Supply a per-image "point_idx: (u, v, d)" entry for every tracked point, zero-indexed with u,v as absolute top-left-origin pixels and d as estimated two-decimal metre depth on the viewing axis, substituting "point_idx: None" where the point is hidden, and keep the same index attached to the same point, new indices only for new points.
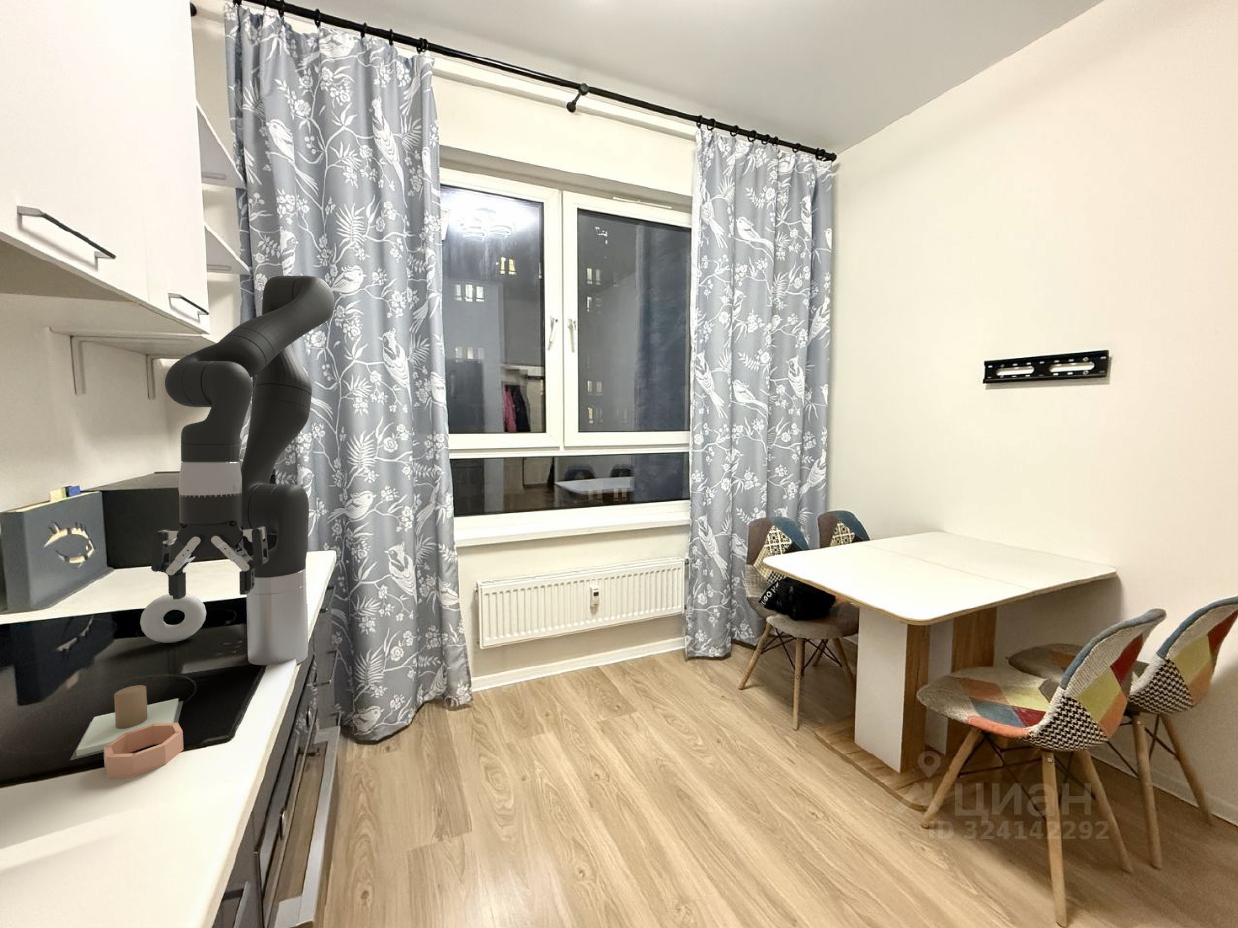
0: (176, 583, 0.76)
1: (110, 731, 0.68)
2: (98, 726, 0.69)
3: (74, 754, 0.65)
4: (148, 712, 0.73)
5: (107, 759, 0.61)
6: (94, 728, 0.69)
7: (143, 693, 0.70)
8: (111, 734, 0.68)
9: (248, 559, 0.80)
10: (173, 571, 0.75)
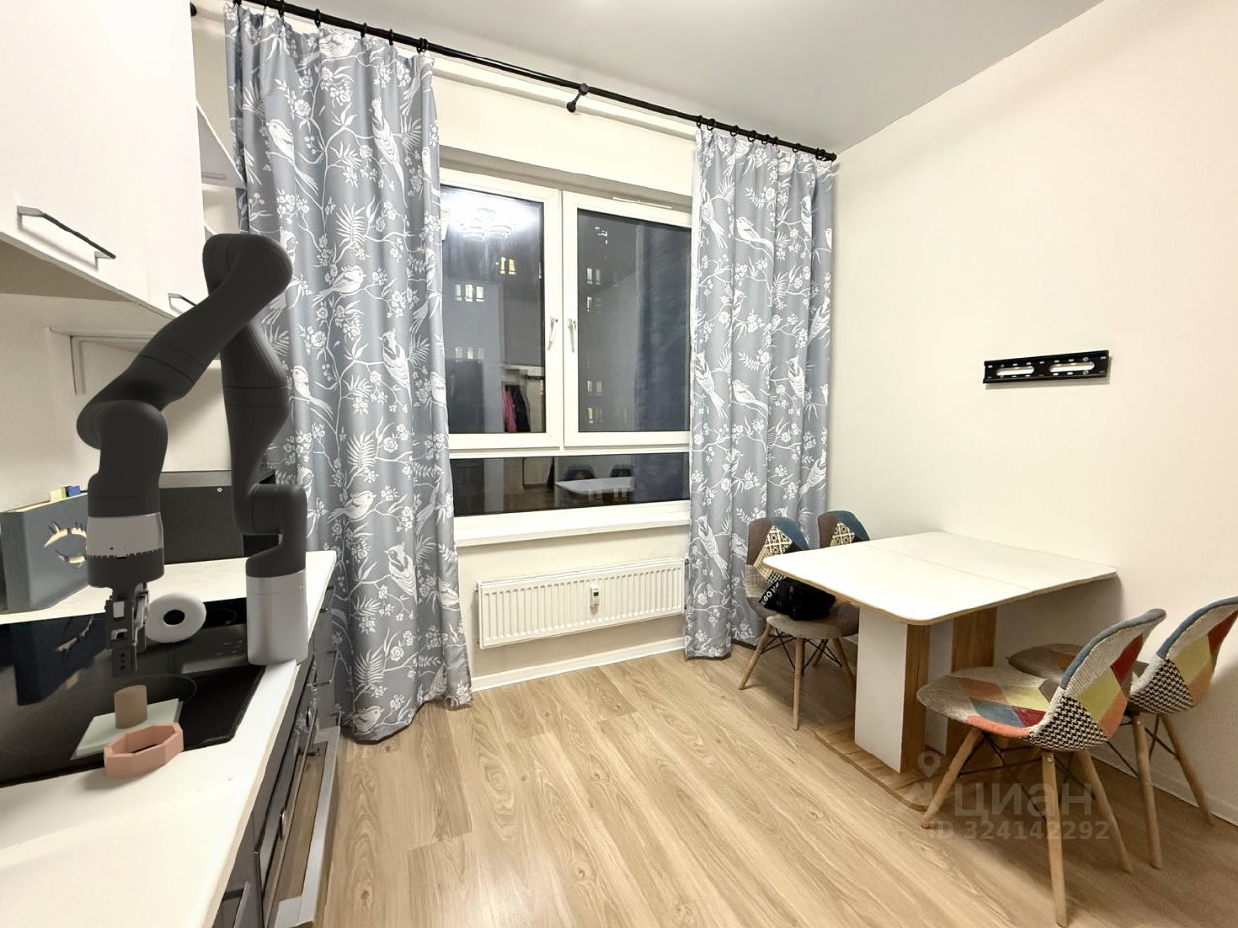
0: None
1: (110, 731, 0.68)
2: (98, 726, 0.69)
3: (74, 754, 0.65)
4: (148, 712, 0.73)
5: (107, 759, 0.61)
6: (94, 728, 0.69)
7: (143, 693, 0.70)
8: (111, 734, 0.68)
9: None
10: None
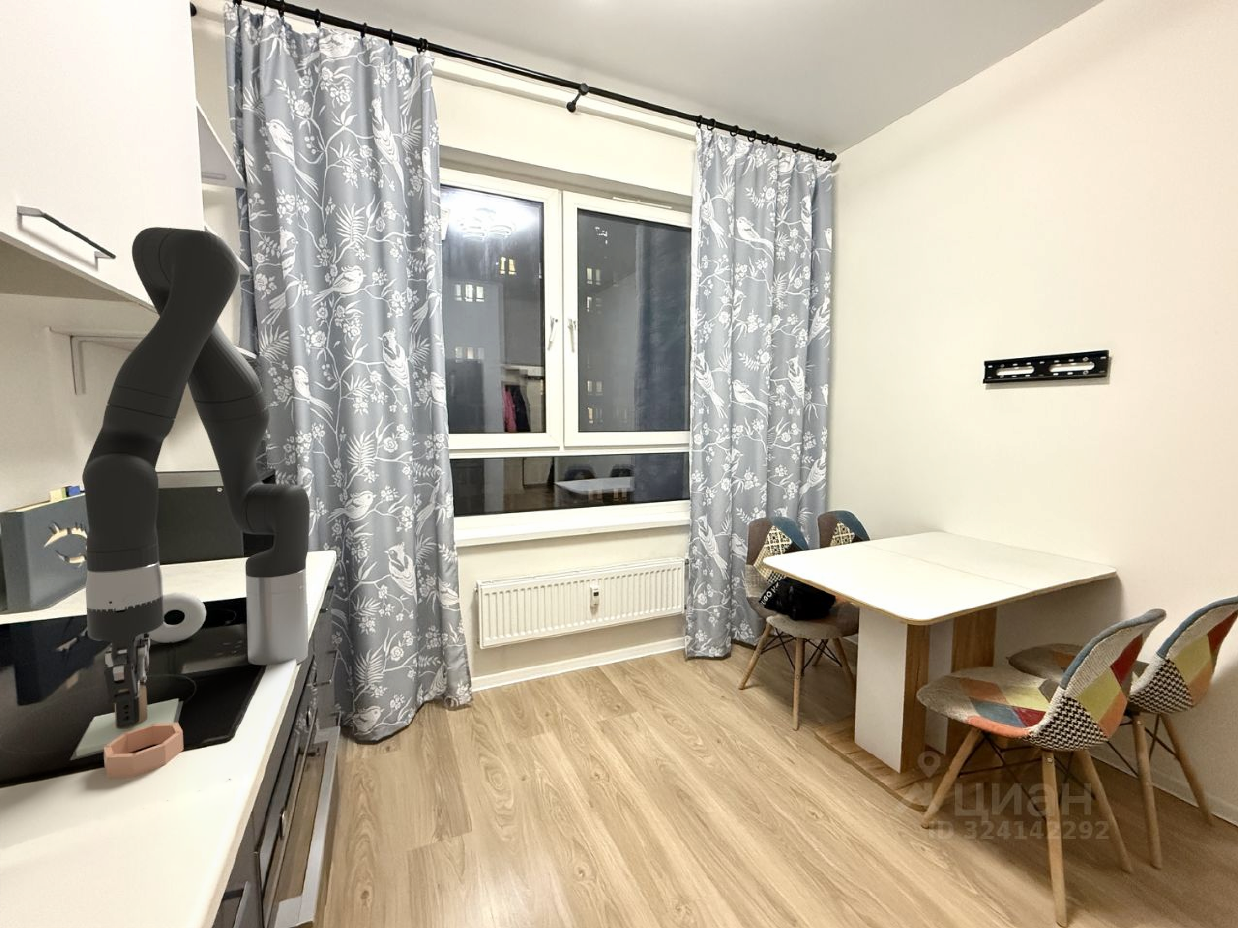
0: None
1: (110, 731, 0.68)
2: (98, 726, 0.69)
3: (74, 754, 0.65)
4: (148, 712, 0.73)
5: (107, 759, 0.61)
6: (94, 728, 0.69)
7: (143, 693, 0.70)
8: (111, 734, 0.68)
9: None
10: None
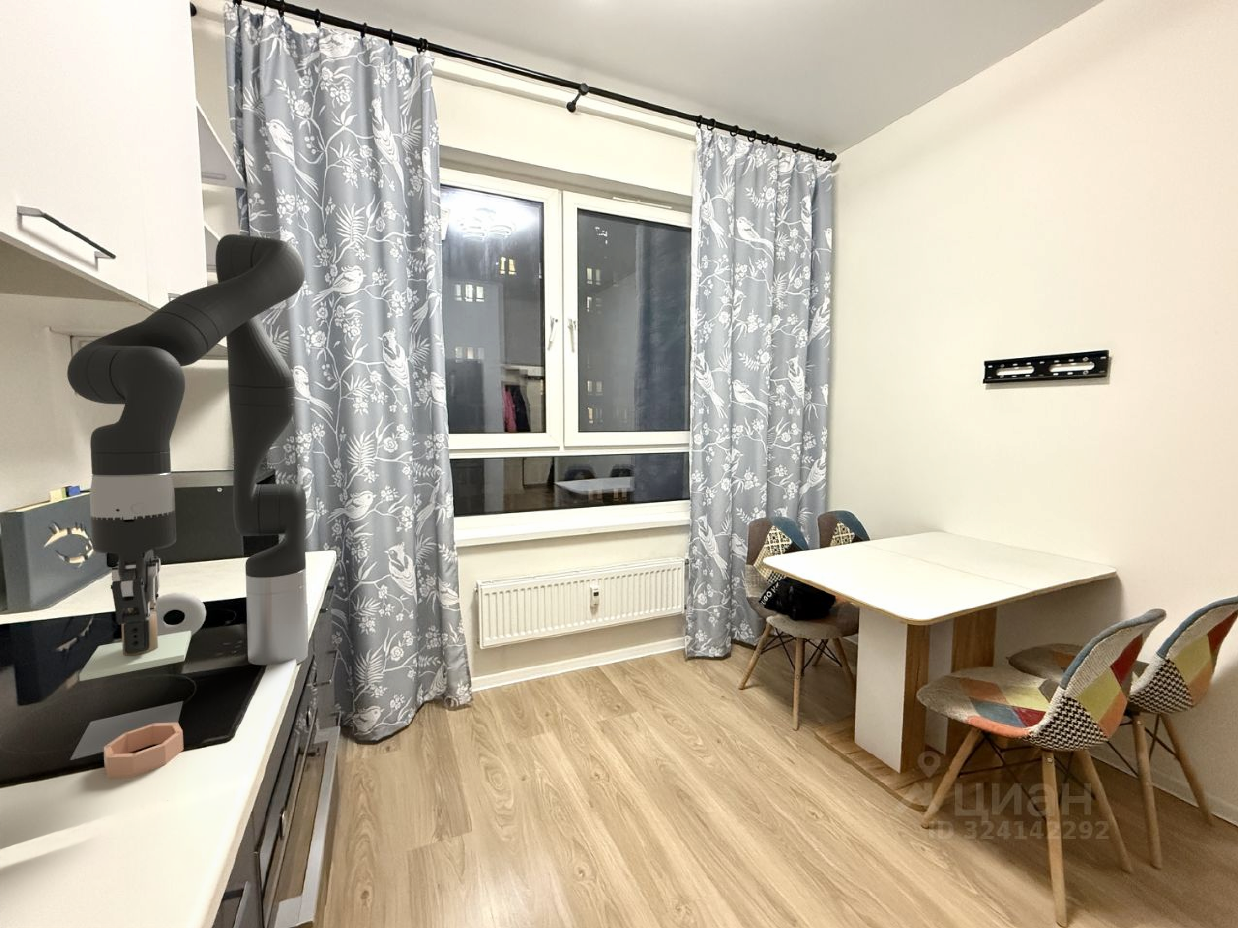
0: None
1: (117, 658, 0.61)
2: (104, 654, 0.62)
3: (74, 754, 0.65)
4: (158, 642, 0.66)
5: (107, 759, 0.61)
6: (99, 655, 0.62)
7: (153, 617, 0.63)
8: (118, 660, 0.60)
9: None
10: None
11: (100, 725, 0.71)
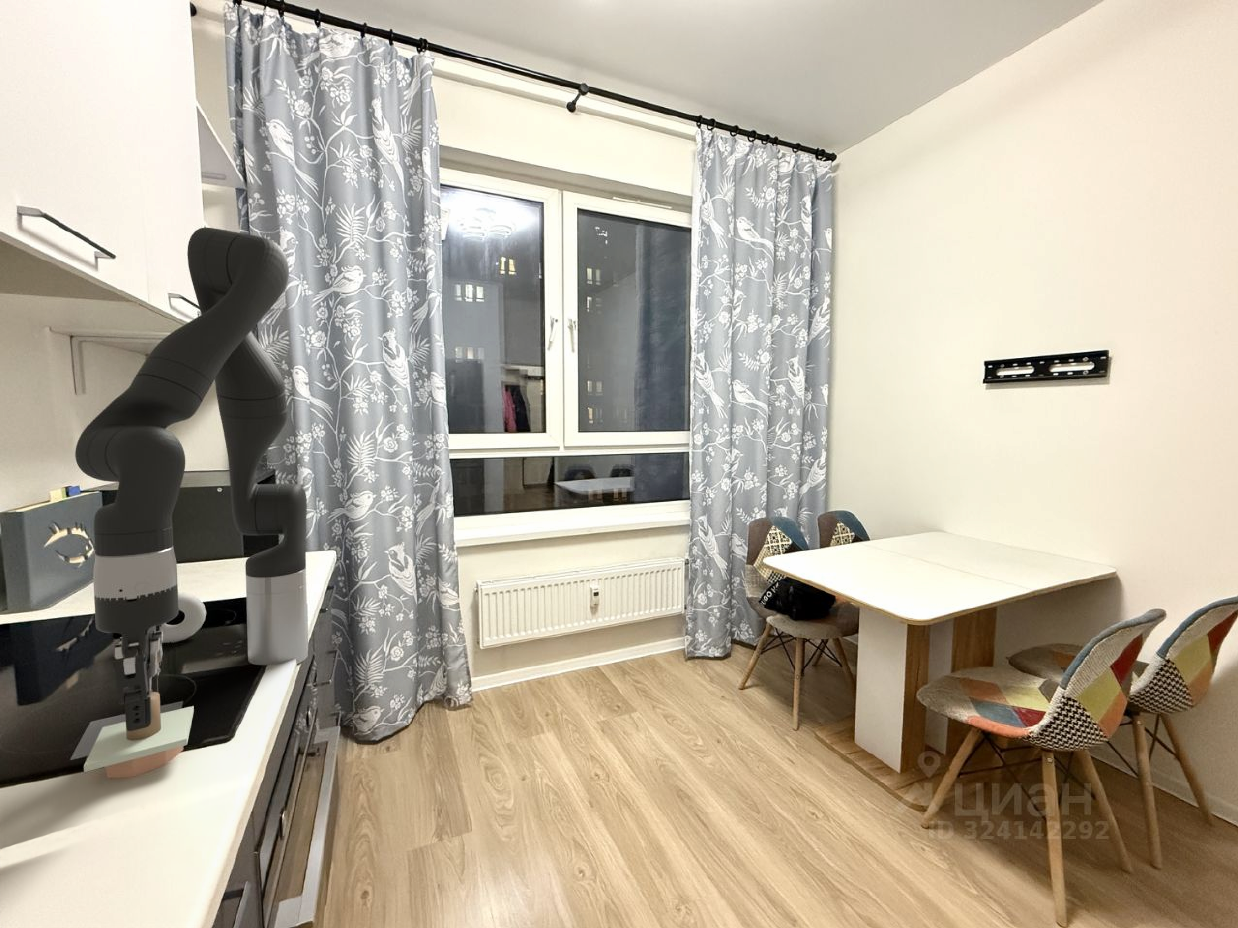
0: None
1: (121, 743, 0.62)
2: (108, 738, 0.63)
3: (74, 754, 0.65)
4: (161, 722, 0.66)
5: None
6: (103, 740, 0.62)
7: (156, 700, 0.64)
8: (122, 747, 0.61)
9: None
10: None
11: (100, 725, 0.71)
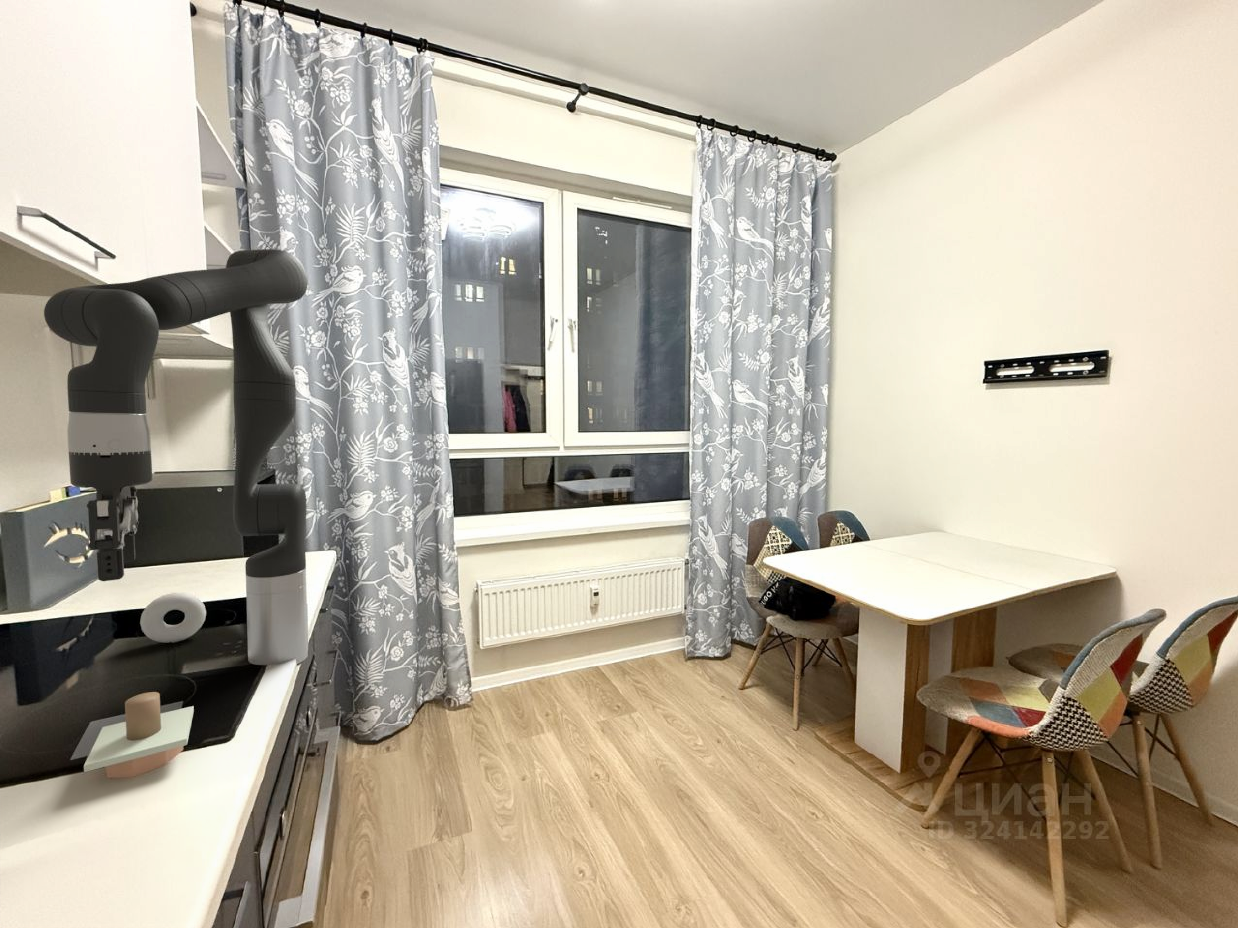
0: None
1: (121, 743, 0.62)
2: (108, 738, 0.63)
3: (74, 754, 0.65)
4: (161, 722, 0.66)
5: None
6: (103, 740, 0.62)
7: (156, 700, 0.64)
8: (122, 747, 0.61)
9: None
10: None
11: (100, 725, 0.71)
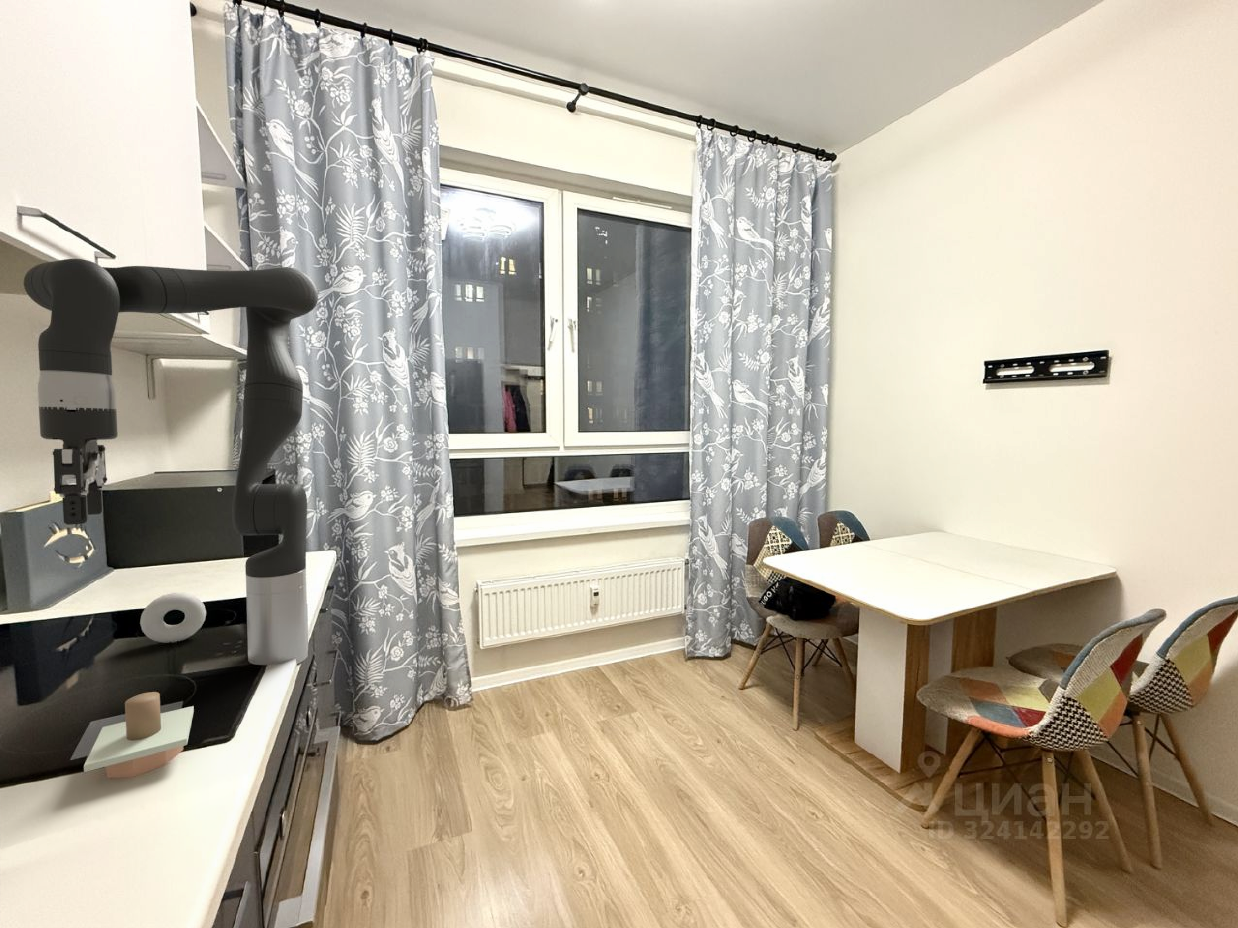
0: (87, 505, 0.70)
1: (121, 743, 0.62)
2: (108, 738, 0.63)
3: (74, 754, 0.65)
4: (161, 722, 0.66)
5: None
6: (103, 740, 0.62)
7: (156, 700, 0.64)
8: (122, 747, 0.61)
9: None
10: None
11: (100, 725, 0.71)
